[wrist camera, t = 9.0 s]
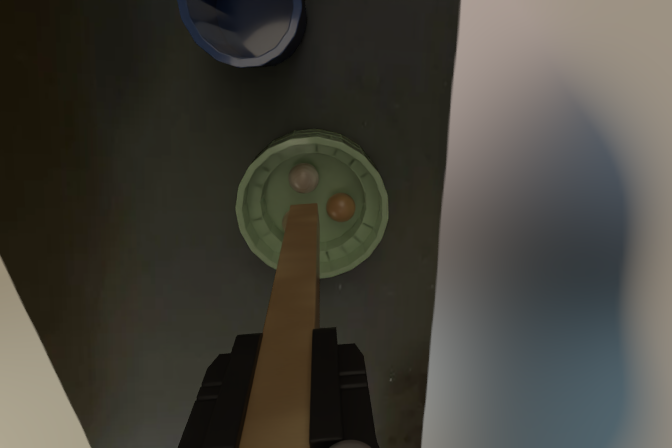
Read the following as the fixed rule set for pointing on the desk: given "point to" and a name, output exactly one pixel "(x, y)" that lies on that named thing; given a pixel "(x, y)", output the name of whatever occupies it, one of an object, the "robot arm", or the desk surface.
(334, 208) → the bead
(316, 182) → the bead
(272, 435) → the stick
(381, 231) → the bowl
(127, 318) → the desk surface
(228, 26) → the crock
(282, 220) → the bead
